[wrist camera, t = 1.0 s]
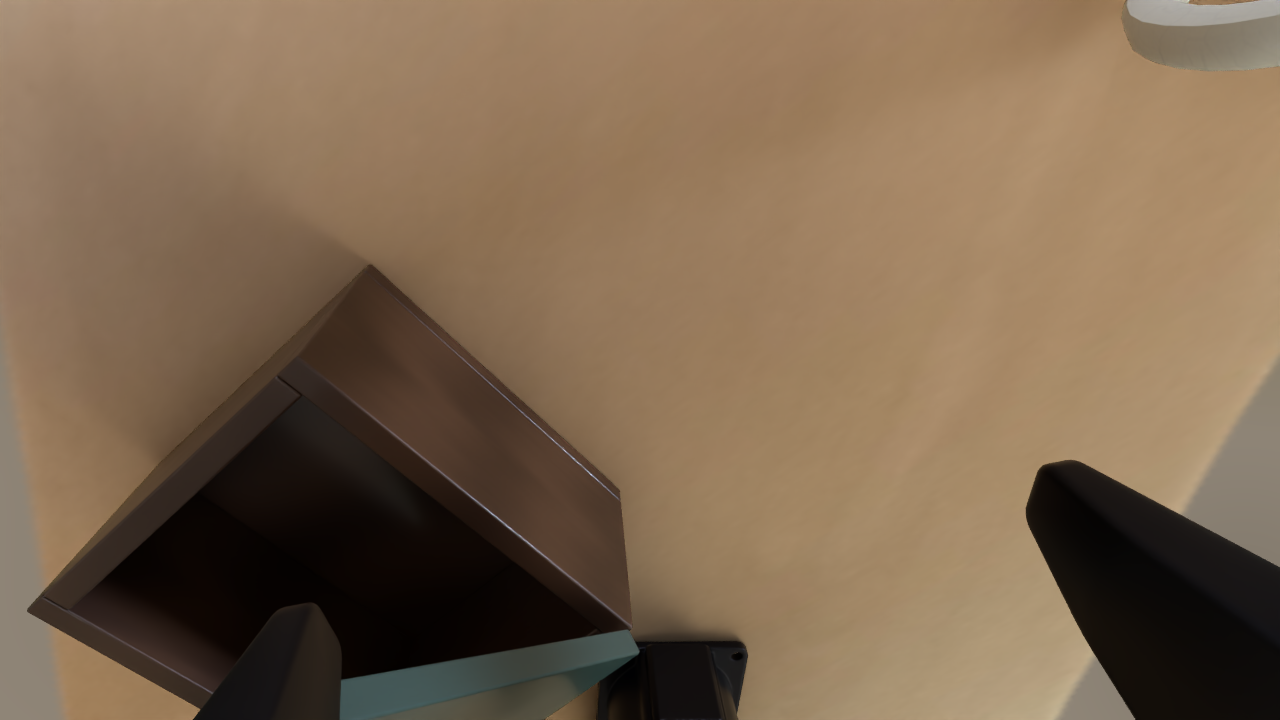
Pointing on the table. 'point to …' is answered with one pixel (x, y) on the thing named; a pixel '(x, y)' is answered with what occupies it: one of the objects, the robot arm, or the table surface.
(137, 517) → the chest
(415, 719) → the lid
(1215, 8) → the pitcher
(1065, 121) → the table surface
